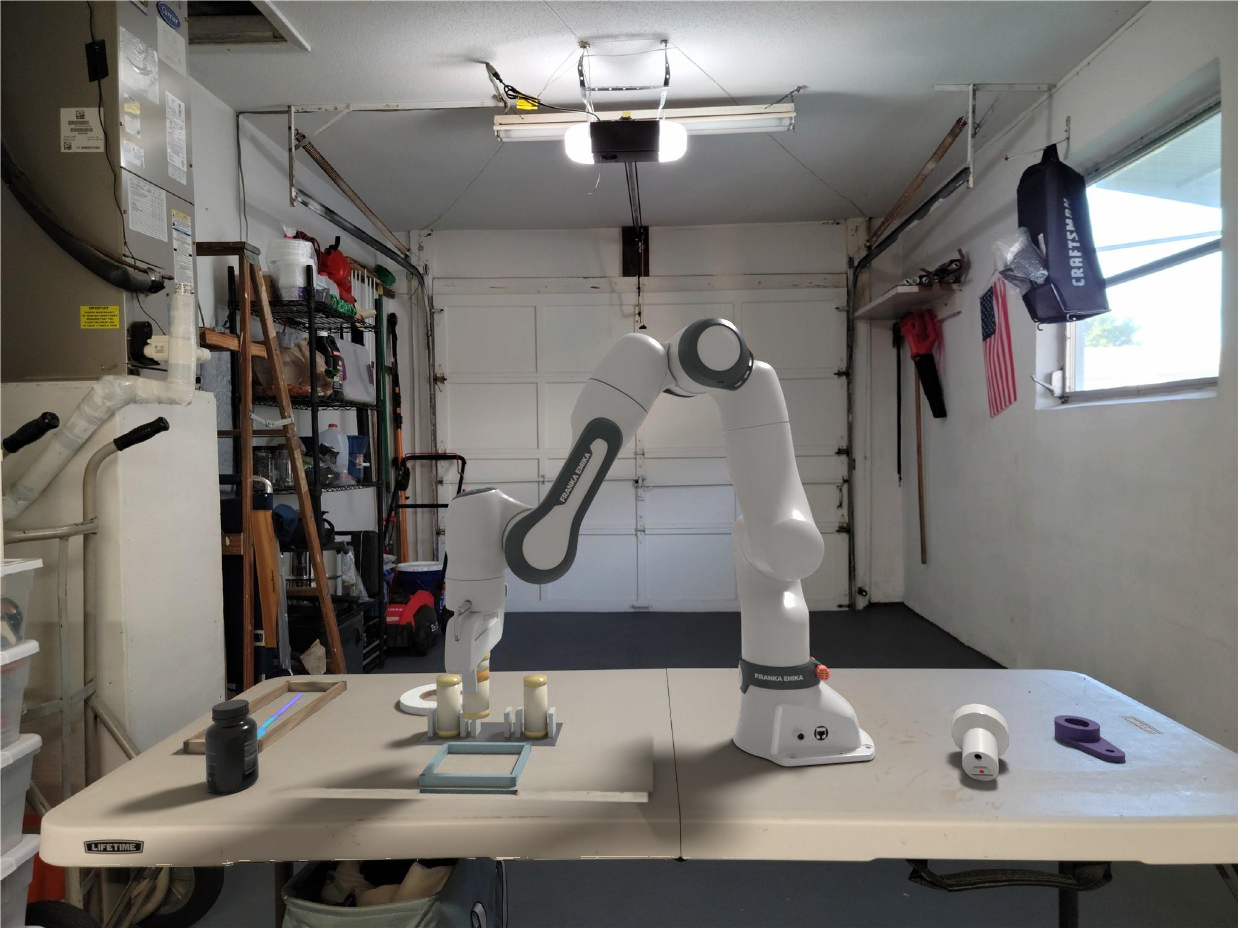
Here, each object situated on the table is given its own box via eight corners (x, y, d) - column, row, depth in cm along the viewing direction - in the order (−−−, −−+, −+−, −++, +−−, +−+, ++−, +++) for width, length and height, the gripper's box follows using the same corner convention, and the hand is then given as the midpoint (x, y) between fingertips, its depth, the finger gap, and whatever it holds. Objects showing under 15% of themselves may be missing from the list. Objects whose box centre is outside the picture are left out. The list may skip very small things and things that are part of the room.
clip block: (563, 729, 122) (562, 699, 121) (554, 753, 112) (554, 721, 112) (435, 728, 123) (435, 699, 123) (416, 751, 113) (415, 720, 113)
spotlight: (1014, 748, 108) (1002, 700, 107) (1018, 793, 98) (1005, 741, 97) (958, 748, 112) (946, 702, 111) (956, 791, 102) (943, 741, 101)
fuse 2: (549, 728, 119) (548, 674, 119) (545, 738, 115) (544, 681, 115) (526, 728, 119) (525, 673, 119) (521, 737, 115) (521, 681, 115)
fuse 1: (463, 728, 119) (463, 673, 119) (457, 737, 115) (456, 681, 115) (441, 728, 120) (440, 673, 120) (433, 737, 116) (433, 681, 116)
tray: (531, 758, 110) (531, 742, 110) (516, 794, 98) (515, 776, 98) (445, 757, 110) (445, 741, 110) (419, 793, 98) (419, 775, 98)
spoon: (257, 746, 117) (257, 739, 117) (232, 747, 117) (232, 740, 117) (314, 696, 142) (314, 691, 142) (294, 697, 142) (294, 691, 142)
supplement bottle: (247, 770, 107) (246, 693, 107) (266, 782, 103) (265, 702, 103) (198, 786, 102) (197, 705, 102) (216, 800, 97) (215, 715, 97)
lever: (1045, 734, 117) (1045, 715, 117) (1080, 732, 117) (1080, 714, 117) (1100, 765, 105) (1100, 744, 105) (1139, 763, 105) (1138, 742, 105)
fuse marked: (492, 710, 106) (491, 648, 106) (485, 720, 102) (485, 656, 102) (466, 709, 106) (466, 648, 106) (459, 719, 102) (458, 655, 102)
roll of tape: (404, 698, 140) (404, 684, 140) (481, 692, 143) (481, 678, 143) (395, 726, 125) (394, 710, 125) (481, 719, 128) (480, 703, 128)
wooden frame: (346, 689, 145) (346, 680, 145) (259, 753, 113) (259, 742, 113) (287, 688, 146) (286, 680, 146) (183, 752, 114) (183, 741, 114)
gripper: (478, 609, 94) (479, 710, 94) (510, 583, 114) (510, 666, 114) (432, 609, 94) (433, 710, 94) (472, 583, 114) (473, 666, 114)
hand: (476, 685), depth 104 cm, fingers closed on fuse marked, 4 cm apart
